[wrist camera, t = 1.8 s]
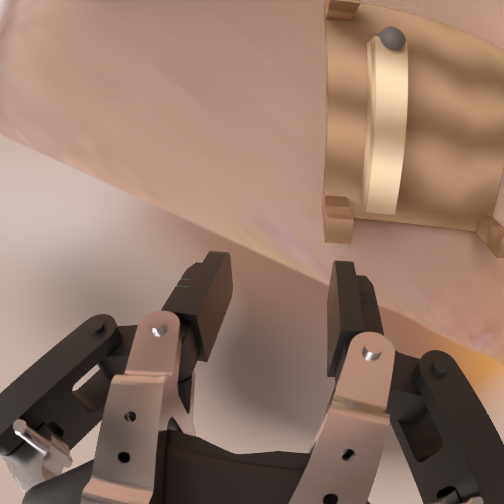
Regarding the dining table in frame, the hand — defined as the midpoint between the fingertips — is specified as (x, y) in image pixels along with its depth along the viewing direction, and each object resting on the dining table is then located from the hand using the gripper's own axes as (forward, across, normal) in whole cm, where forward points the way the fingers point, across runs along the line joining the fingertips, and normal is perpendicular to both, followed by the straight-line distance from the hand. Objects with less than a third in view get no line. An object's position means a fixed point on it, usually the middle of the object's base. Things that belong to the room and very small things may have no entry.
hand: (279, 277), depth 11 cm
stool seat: (+17, -12, -6) cm, 22 cm away
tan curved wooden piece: (+15, -7, -5) cm, 18 cm away
